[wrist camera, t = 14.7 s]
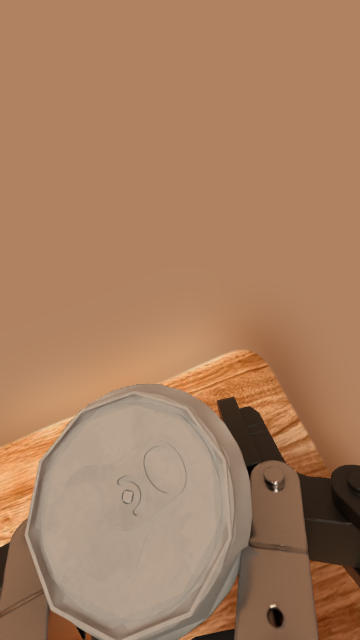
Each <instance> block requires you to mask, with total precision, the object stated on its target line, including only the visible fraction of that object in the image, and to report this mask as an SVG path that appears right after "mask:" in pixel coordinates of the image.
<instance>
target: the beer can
mask: <svg viewBox="0 0 360 640" xmlns="http://www.w3.org/2000/svg"><path fill="white" fill-rule="evenodd" d="M251 523H252V504H251V488H250V480H249V475H248V471H247V468H246V466H245V462H244V459H243V455H242V453H241V450H240V448H239V446H238V444H237V442H236V441H235V439H234V438H233V436H232V434H231V433H230V431H229V430H228V428H227V426H226V425H225V423H224V422H223V421H222V420H221V419H220V418H219V417H218V416H217V415H216V413H215V412H214V411H213V410H212V409H211V408H210V407H209V406H207V405H206V404H205V403H203V402H202V401H201V400H199V399H197V398H195V397H193V396H192V395H190V394H189V393H187V392H185V391H182V390H179V389H175V388H171V387H167V386H163V385H159V384H139V385H138V384H137V385H132V386H128V387H124V388H121V389H117V390H114V391H111V392H109V393H108V394H106V395H104V396H102V397H101V398H99V399H97V400H95V401H93V402H92V403H90V404H88V405H87V406H86V407H85V408H84V409H82V410H80V411H79V413H78V414H77V415H76V416H75V417H74V418H73V419H72V420H71V421H70V422H69V423H68V424H67V426H66V427H65V429H64V430H63V432H62V433H61V435H60V436H59V437H58V439H57V440H56V441H55V442H54V444H53V445H52V446H51V447H50V449H49V450H48V451H47V452H46V454H45V455H44V456H43V457H42V459H41V460H40V461H39V465H38V470H37V475H36V480H35V485H34V490H33V495H32V500H31V506H30V511H29V516H28V521H27V526H26V531H25V538H26V541H27V544H28V547H29V550H30V553H31V555H32V558H33V561H34V564H35V567H36V570H37V573H38V575H39V578H40V581H41V584H42V587H43V590H44V592H45V595H46V598H47V601H48V604H49V607H50V609H51V611H53V612H55V613H56V614H58V615H60V616H62V617H64V618H66V619H67V620H69V621H71V622H72V623H73V624H74V625H75V626H77V627H79V628H80V629H82V630H83V631H85V632H87V633H89V634H90V635H92V636H94V637H96V638H97V639H99V640H178V639H180V638H182V637H183V636H185V635H186V634H188V633H189V632H190V631H192V630H193V629H194V628H196V627H197V626H198V625H200V624H201V623H202V622H204V621H205V620H206V619H208V618H209V617H210V616H211V614H212V613H213V612H214V611H215V609H216V608H217V607H218V606H219V604H220V603H221V602H222V601H223V599H224V598H225V597H226V596H227V594H228V593H229V592H230V590H231V588H232V586H233V584H234V582H235V580H236V578H237V575H238V573H239V569H240V556H241V550H242V549H244V548H245V547H247V546H248V542H249V538H250V532H251Z"/></svg>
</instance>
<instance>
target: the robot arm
mask: <svg viewBox="0 0 360 640" xmlns="http://www.w3.org/2000/svg"><path fill="white" fill-rule="evenodd" d="M217 405H218V410H219V414H220V419H221V420H222V421H223V422H224V423H225V425H226V426H227V428H228V430H229V431H230V433H231V434H232V436H233V438H234V439H235V441H236V442H237V444H238V446H239V448H240V450H241V453H242V455H243V459H244V462H245V466H246V468H247V471H248V475H249V480H250V488H251V504H252V523H251V532H250V538H249V542H248V546H247V547H245V548H244V549H242V550H241V556H240V569H239V583H238V596H237V609H236V622H235V629H231V630H226V631H221V632H217V633H212V634H207V635H202V636H198V637H195V638H193V639H192V640H319V635H318V627H317V619H316V610H315V602H314V594H313V586H312V578H311V570H310V562H309V560H312V561H318V562H325V563H331V564H337V565H342V566H343V567H344V568H345V570H346V571H347V572H348V573H349V575H350V576H351V577H352V578H353V580H354V581H355V582H356V583H357V585H358V586H359V587H360V466H359V465H344V466H341V467H338V468H337V469H335V470H334V472H333V473H332V475H331V478H318V477H309V476H305V475H302V474H300V473H297V472H296V471H295V470H294V469H293V468H292V467H291V466H289V465H288V464H286V463H285V461H284V459H283V457H282V455H281V454H280V452H279V450H278V448H277V446H276V444H275V442H274V440H273V438H272V437H271V435H270V433H269V431H268V429H267V427H266V425H265V424H264V421H263V420H262V418H261V416H260V414H259V413H258V412H257V411H256V410H254V409H253V408H252V407H250V406H249V407H244V408H240V409H239V407H238V405H237V402H236V400H235V398H234V397H231V398H226V399H222V400H217ZM27 521H28V518H27V519H26V520H25V521H24V522H23V523H22V524H21V525H20V526H19V527H18V528H17V530H16V531H15V533H14V534H13V536H12V538H11V541H10V542H9V543H8V544H6V545H4V546H2V547H0V640H91V635H90V634H89V633H87V632H85V631H83V630H82V629H80V628H79V627H77V626H75V625H74V624H73V623H72V622H71V621H69V620H67V619H66V618H64V617H62V616H60V615H58V614H56V613H55V612H53V611H51V609H50V607H49V604H48V601H47V598H46V595H45V592H44V590H43V587H42V584H41V581H40V578H39V575H38V573H37V570H36V567H35V564H34V561H33V558H32V555H31V553H30V550H29V547H28V544H27V541H26V538H25V531H26V526H27Z"/></svg>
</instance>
